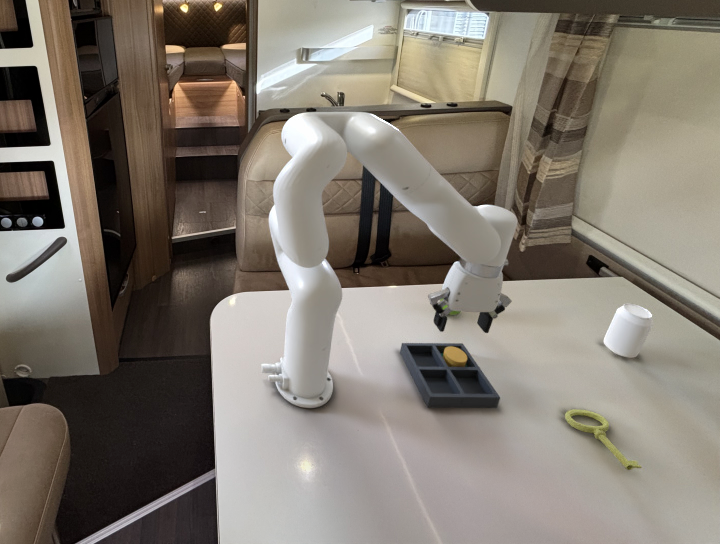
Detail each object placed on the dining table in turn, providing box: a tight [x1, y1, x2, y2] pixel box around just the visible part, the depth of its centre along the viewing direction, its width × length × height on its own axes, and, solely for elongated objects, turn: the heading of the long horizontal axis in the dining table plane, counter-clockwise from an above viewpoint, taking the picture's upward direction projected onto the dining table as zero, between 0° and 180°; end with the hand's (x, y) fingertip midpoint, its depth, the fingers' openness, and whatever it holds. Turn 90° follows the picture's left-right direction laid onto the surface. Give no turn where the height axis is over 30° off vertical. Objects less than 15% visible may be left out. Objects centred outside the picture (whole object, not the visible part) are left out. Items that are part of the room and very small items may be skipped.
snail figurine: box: [439, 299, 462, 316], centre depth 113 cm, size 5×6×12 cm
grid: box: [399, 342, 501, 409], centre depth 95 cm, size 14×14×3 cm
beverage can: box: [603, 302, 654, 359], centre depth 100 cm, size 6×6×12 cm
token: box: [443, 346, 467, 367], centre depth 97 cm, size 5×5×3 cm
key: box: [564, 408, 642, 471], centre depth 82 cm, size 7×12×2 cm, turn 16°
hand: (460, 327), depth 94 cm, fingers open, 9 cm apart
